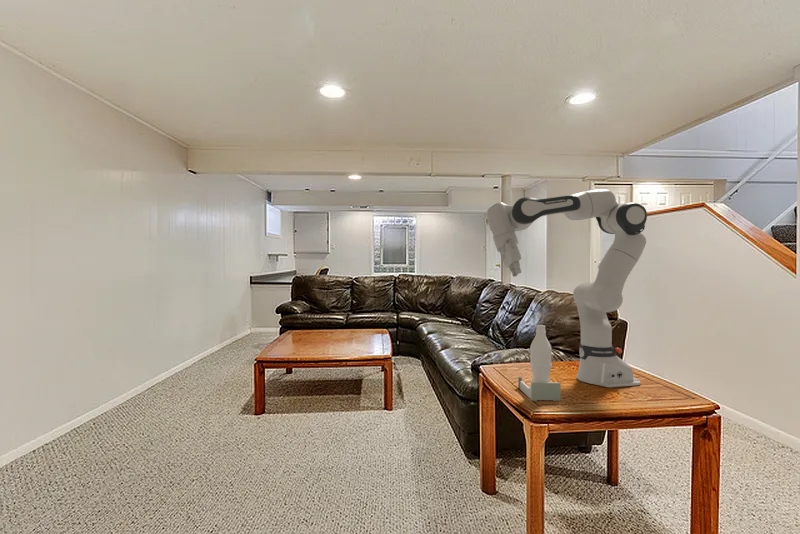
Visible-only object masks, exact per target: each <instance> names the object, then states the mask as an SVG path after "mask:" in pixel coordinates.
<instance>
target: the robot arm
mask: <svg viewBox="0 0 800 534" xmlns="http://www.w3.org/2000/svg"><path fill="white" fill-rule="evenodd" d="M647 212H648V211H647V209H646V208H645V206H643V205H642V204H640V203H636V202H626V203H623V204H619V203H618V202H617V199H616V196H615V194H614V193H613V192H612V191H611V190H609V189H593V190H592V189H590V190H585V191H581V192H580V191H579V192H576V193H572V194H568V195H563V196H556V197H555V196H554V197H547V198H537V197H536V198H535V197H528V196H526V197H520V198H519V199H517V200H516V202H514V204H513V205H511V204H510V205H509V204H506V203H504V202H497V203H495V204H493V205H492V206H491V207H489V208H488V210H487V211H486V220H487V224H488V227H489V229H490V231H491V233H492V239H493V242H494V245H495V248H496V250H497V252H498V253H499V255H500V257H501V260H502V262H503V264H504V267H505V268H506V269H509V270H510V273H511V275H512V277H517V276H519V274H521V273H522V269H521V264H520V261H521V259H522V256H521V252H520V250H519V247H518V244H519V240H518V237H517V234H516V232H518V231H519V232H521V231H524V230H526V229H528V228H529V227H530V226H531V225H532V224H533V223H534V222H535V221H537V220H538V219H539V218H541V217H543V216H549V215H550V216H551V215H557V214H564V216H565V217H566V218H567V219H568V220H571V221H581V220H587V219H593V218H595V219H596V221H597V225H598V227H599V228H600V230H601V231H602V232H603V233H606V234H610V235H611V234H612V235H614V239H613V243H612V244H611V246H610V247H609V248H608V250H607V252H606V253H605V255H604V256H603V258H602V259H601V261H600V262H599V264H598V267H597V268H598V271H597V274H596V278H595V280H594V281H593V282H584V283H581V284H579V285H577V286H576V287H575V288H574V290H573V291H572V297H573V300H574V302H575V304H576V308H577V312H578V313H577V314H578V318H579V319H578V320H579V325H580V343H579V358H580V359H579V366H578V371H577V374H576V376H575V377H576V379H577V380H578V381H581V382H583V383H587V384H591V385H595V386H596V385H597V386H601V387H604V388H605V387H606V388H619V387H630V386H631V387H633V386H641V385H642V384H641V381H640V379H638V378H636V377H634V372H633V369H632V368H633V367H632V366H631V365H629V364H628V363H627V362H626V361H624V360H623V359H622V358H620V357H619V356H618V355H617V353H618V354H622V353H623V350H622V348H620V347H615V346H613V344H612V342H613V339H612V337H613V333H612V331H613V330H612V329H613V328H612V327H613V326H612V325H611V322H610V320H609V318H608V315H607V313H612V312H616V311H618V310H619V308H621V306H622V304H623V299H624V298H623V294H622V293H623V290H624V287H625V283H626V281H627V279H628V277H629V275H630V274H631V272H632V271H633V268H634V267H635V266H636V265H637V263H638V261H639V259H640V257H641V256H642V254H643V252H644V249H645V247H646V244H647V238H646V236H645V235H644V234H643V233H642V232H643V231H644V230H645V227H646V223H647V219H648V213H647Z"/></svg>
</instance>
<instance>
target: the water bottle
mask: <svg viewBox="0 0 800 534" xmlns="http://www.w3.org/2000/svg"><path fill="white" fill-rule="evenodd" d="M535 326H536V327H535V328H536V329H535V337H534V338H533V339H532V341H531V344H530V347H529V351H530V363H529V365H530V368H531V372H532V380H531V383H551V381H550V373H551V370H552V367H553V366H552V365H553V364H552V345H551V344H550V341H549V340H548V338H547V335H546V333H547V331H546V325H544V324H536V325H535ZM531 383H530V384H529V388H530V389H531Z"/></svg>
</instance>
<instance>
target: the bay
mask: <svg viewBox="0 0 800 534" xmlns="http://www.w3.org/2000/svg"><path fill="white" fill-rule="evenodd" d="M530 385H531V389H530V386H528V385H527V384H526V383H525V381H523V377H522V376H518V388H519V389H520V390H521V391H522V392H523V394H525V395H526V396H527V397H528V398H529V400H530V401H532V402H535V401H536V402H538V401H537V400H553V401H552V402H554V401H555V402H561V398H562V397H561V395H562V393H561V392H562V391H561V382H555V381H552V382H551V381H550V383H530Z"/></svg>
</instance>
